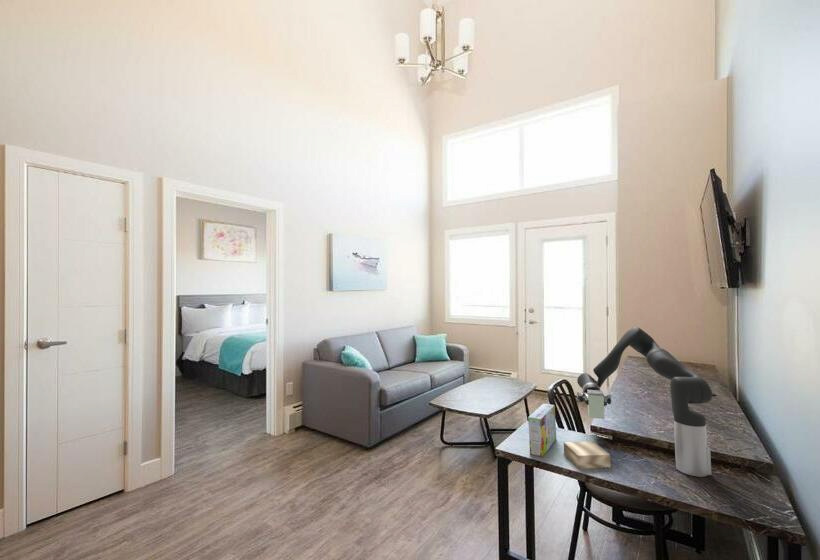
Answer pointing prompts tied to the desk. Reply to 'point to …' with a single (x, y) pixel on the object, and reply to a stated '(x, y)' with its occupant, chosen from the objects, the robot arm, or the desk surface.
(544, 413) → the snack box
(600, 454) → the birch block
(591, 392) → the tea tin
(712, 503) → the desk surface
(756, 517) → the desk surface
